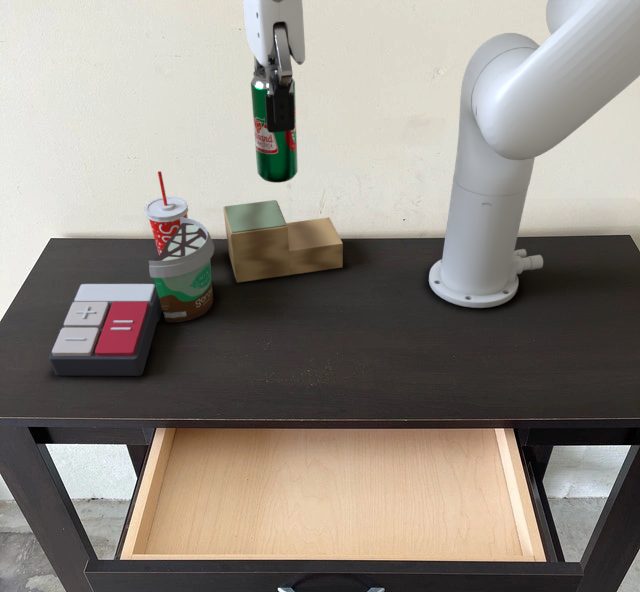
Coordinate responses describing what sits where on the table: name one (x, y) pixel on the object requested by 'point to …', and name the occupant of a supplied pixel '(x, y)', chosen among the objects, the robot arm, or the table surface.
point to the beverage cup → (165, 216)
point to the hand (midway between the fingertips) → (275, 119)
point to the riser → (278, 242)
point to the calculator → (107, 331)
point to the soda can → (272, 137)
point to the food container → (184, 272)
